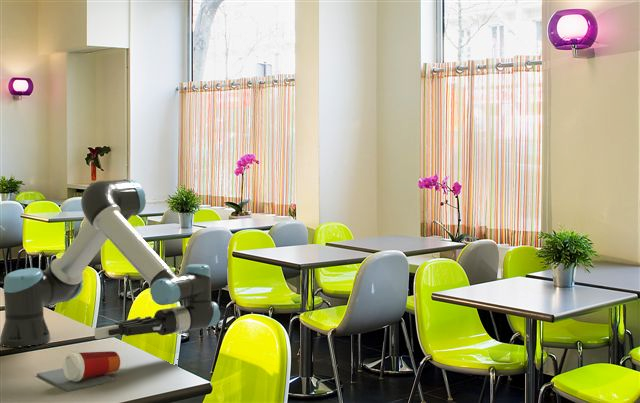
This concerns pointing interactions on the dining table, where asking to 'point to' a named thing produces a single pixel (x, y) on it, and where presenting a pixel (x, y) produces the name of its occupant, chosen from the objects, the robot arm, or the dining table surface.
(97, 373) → the paper cup
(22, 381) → the dining table surface
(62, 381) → the mat
